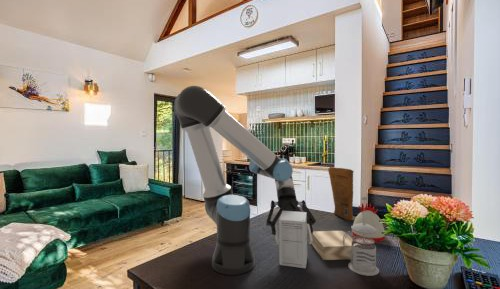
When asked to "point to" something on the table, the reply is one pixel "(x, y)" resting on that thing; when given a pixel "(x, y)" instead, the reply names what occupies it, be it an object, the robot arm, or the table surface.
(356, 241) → the french press
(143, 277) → the table surface
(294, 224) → the supplement box
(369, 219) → the crested helmet
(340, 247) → the oak riser
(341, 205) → the pancake mix bag
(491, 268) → the table surface
